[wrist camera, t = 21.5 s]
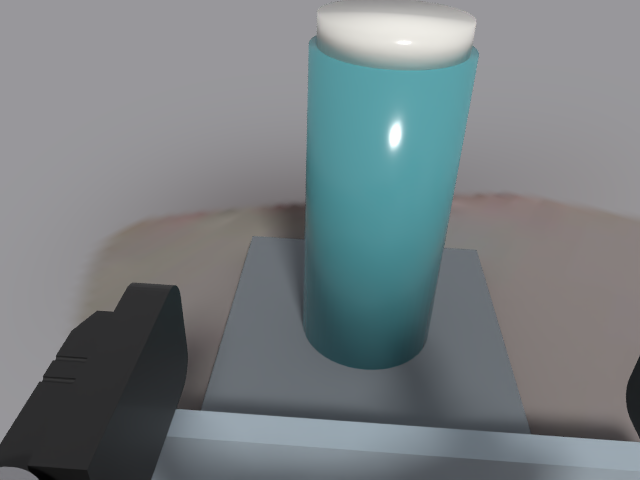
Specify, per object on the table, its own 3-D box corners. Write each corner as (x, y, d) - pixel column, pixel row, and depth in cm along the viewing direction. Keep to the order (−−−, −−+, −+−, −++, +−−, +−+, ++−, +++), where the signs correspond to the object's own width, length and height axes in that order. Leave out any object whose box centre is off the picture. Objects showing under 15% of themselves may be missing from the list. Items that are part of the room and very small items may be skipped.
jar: (422, 289, 28) (470, 0, 21) (434, 374, 23) (500, 41, 16) (308, 281, 28) (315, -7, 21) (296, 364, 23) (301, 32, 16)
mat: (473, 265, 31) (476, 249, 31) (531, 476, 20) (538, 458, 20) (253, 251, 32) (252, 236, 31) (196, 451, 21) (193, 433, 20)
